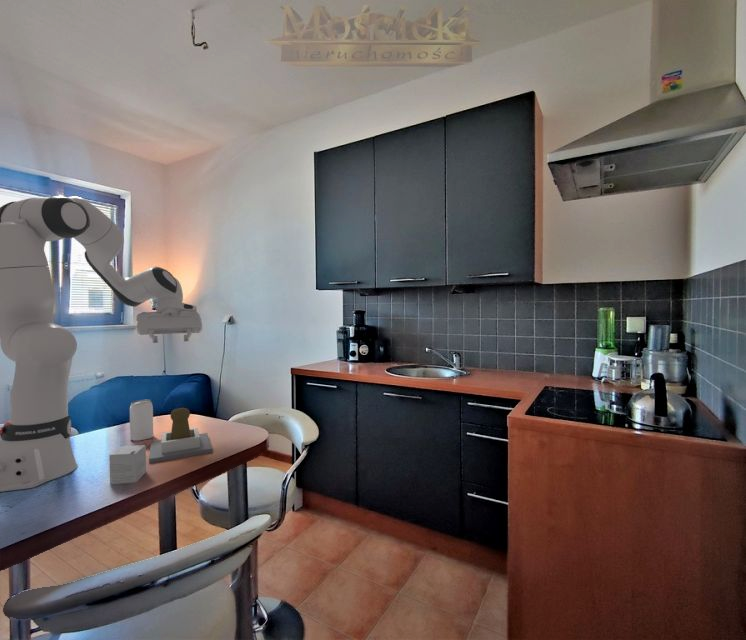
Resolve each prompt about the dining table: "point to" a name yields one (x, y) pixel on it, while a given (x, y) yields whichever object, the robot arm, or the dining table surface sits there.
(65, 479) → the dining table surface
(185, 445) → the grey socket base
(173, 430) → the brown flared peg
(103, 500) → the dining table surface
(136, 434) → the can
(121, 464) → the skincare box
